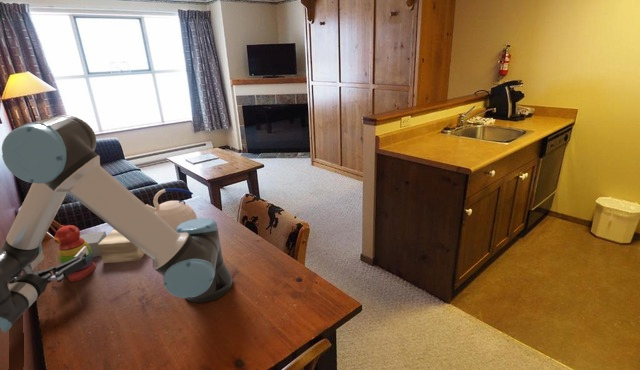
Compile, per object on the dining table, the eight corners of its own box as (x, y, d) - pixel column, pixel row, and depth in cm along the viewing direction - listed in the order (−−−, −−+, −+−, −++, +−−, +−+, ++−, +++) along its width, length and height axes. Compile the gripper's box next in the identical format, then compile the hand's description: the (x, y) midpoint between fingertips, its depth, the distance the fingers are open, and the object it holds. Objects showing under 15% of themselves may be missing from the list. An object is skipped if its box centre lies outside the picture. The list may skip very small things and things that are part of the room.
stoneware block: (101, 255, 130) (97, 242, 128) (75, 260, 128) (70, 246, 126) (109, 244, 138) (105, 231, 136) (84, 248, 136) (80, 234, 134)
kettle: (148, 223, 155) (139, 186, 148) (196, 213, 163) (189, 177, 156) (148, 242, 138) (137, 202, 131) (201, 230, 145) (193, 191, 139)
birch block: (139, 260, 125) (134, 241, 122) (103, 263, 125) (97, 244, 122) (153, 242, 137) (149, 225, 135) (120, 245, 137) (115, 227, 134)
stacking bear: (56, 275, 118) (39, 230, 112) (86, 260, 127) (71, 217, 120) (73, 283, 113) (56, 236, 107) (103, 267, 122) (89, 223, 115)
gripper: (-22, 309, 94) (27, 266, 113) (76, 296, 97) (107, 257, 117) (-33, 287, 91) (19, 247, 111) (68, 274, 94) (101, 237, 114)
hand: (64, 252), depth 114 cm, fingers open, 13 cm apart
